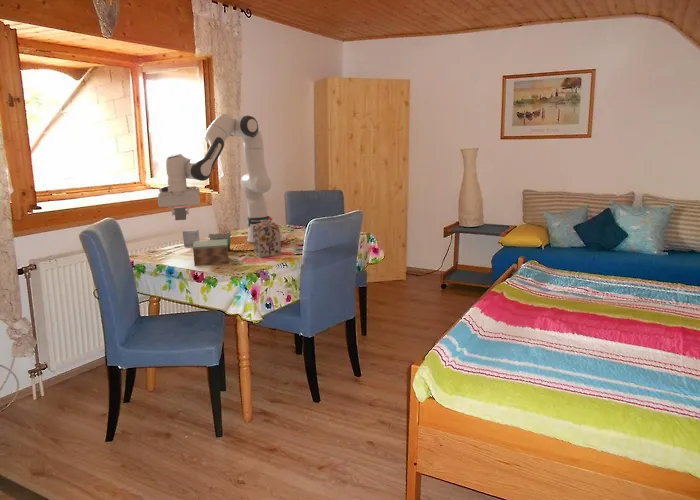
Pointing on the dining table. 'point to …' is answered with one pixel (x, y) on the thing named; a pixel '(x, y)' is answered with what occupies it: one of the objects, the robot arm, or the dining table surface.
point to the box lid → (210, 244)
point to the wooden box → (210, 256)
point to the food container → (221, 237)
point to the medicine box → (190, 237)
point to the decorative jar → (266, 239)
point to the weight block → (180, 213)
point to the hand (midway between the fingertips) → (180, 214)
